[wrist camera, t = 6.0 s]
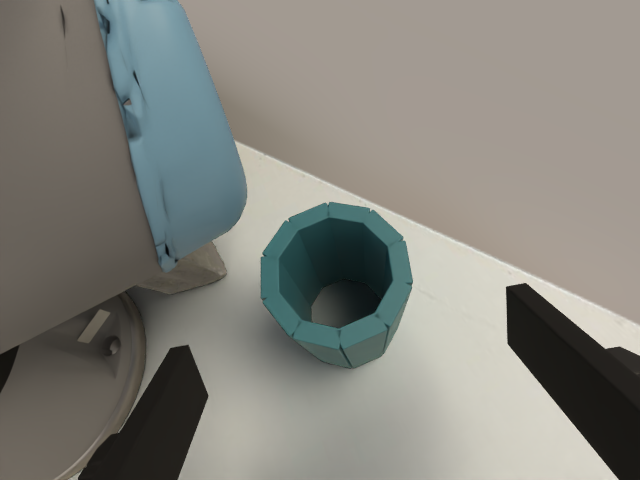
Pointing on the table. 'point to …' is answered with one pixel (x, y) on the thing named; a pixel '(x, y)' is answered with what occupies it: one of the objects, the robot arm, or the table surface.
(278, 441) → the table surface
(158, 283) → the mineral specimen
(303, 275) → the slatted pencil holder
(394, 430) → the table surface
